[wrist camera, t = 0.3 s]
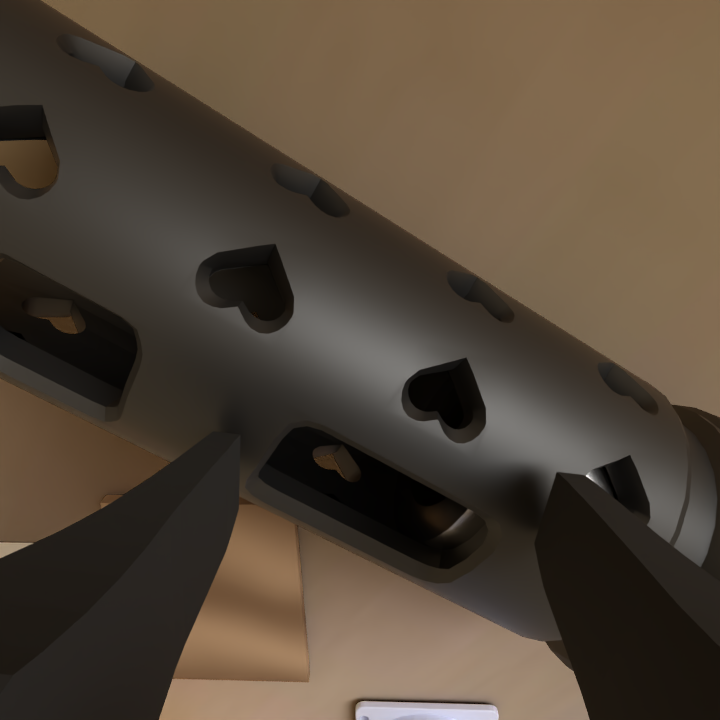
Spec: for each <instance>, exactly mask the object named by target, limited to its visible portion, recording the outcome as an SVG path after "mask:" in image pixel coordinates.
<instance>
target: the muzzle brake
mask: <svg viewBox="0 0 720 720" xmlns="http://www.w3.org/2000/svg"><path fill="white" fill-rule="evenodd" d="M11 140H47V142H48V144H49V147H50V149H51V152H52V154H53V157H54V159H55V161H56V164H57V166H58V169H57V176H56V178H55V180H54V182H53V183H52V184H51V185H49V186H47V187H45V188H41V189H31V188H26V187H24V186H22V185H20V184H18V183H17V182H16V181H15V179H14V178H13V177H12V175H11V174H10V172H9V171H8V170H7V168H6V167H5V166H0V378H1V379H3V380H5V381H7V382H9V383H11V384H13V385H15V386H17V387H19V388H21V389H23V390H25V391H27V392H29V393H31V394H33V395H35V396H37V397H39V398H41V399H43V400H45V401H47V402H49V403H52V404H54V405H56V406H58V407H60V408H62V409H64V410H66V411H68V412H70V413H72V414H74V415H76V416H78V417H80V418H82V419H84V420H86V421H88V422H90V423H92V424H94V425H96V426H98V427H100V428H102V429H104V430H106V431H108V432H110V433H112V434H114V435H116V436H118V437H120V438H122V439H124V440H126V441H128V442H130V443H132V444H134V445H136V446H138V447H140V448H142V449H144V450H146V451H148V452H150V453H153V454H155V455H157V456H159V457H161V458H163V459H165V460H167V461H169V462H172V461H174V460H175V459H176V458H178V457H179V456H181V455H182V454H183V453H185V452H186V451H187V450H188V449H190V448H191V447H192V446H194V445H195V444H196V443H198V442H199V441H201V440H202V439H203V438H205V437H206V436H207V435H209V434H210V433H212V432H213V431H215V432H223V433H232V434H240V482H239V497H241V498H243V499H245V500H247V501H249V502H251V503H254V504H256V505H258V506H260V507H262V508H264V509H266V510H268V511H270V512H272V513H274V514H276V515H278V516H280V517H282V518H284V519H286V520H288V521H290V522H292V523H294V524H296V525H298V526H300V527H302V528H304V529H306V530H308V531H310V532H312V533H314V534H316V535H318V536H320V537H322V538H324V539H326V540H328V541H330V542H332V543H334V544H336V545H338V546H340V547H342V548H344V549H346V550H348V551H350V552H352V553H355V554H357V555H359V556H361V557H363V558H365V559H367V560H369V561H371V562H373V563H375V564H377V565H379V566H381V567H383V568H385V569H387V570H389V571H391V572H393V573H395V574H397V575H399V576H401V577H403V578H405V579H407V580H409V581H411V582H413V583H415V584H417V585H419V586H421V587H423V588H425V589H427V590H429V591H431V592H433V593H435V594H437V595H439V596H441V597H443V598H445V599H447V600H449V601H451V602H453V603H456V604H458V605H460V606H462V607H464V608H466V609H468V610H470V611H472V612H474V613H476V614H478V615H480V616H482V617H484V618H486V619H488V620H490V621H492V622H494V623H496V624H498V625H500V626H502V627H504V628H506V629H508V630H510V631H512V632H514V633H516V634H518V635H520V636H522V637H526V638H530V639H534V640H538V641H545V642H546V643H547V645H548V646H549V648H550V649H551V651H552V652H553V653H554V654H555V655H556V656H557V657H558V658H559V659H560V660H561V661H562V662H563V663H564V664H565V665H566V666H567V667H568V668H570V669H571V670H573V668H572V665H571V662H570V660H569V657H568V654H567V651H566V649H565V646H564V643H563V640H562V638H561V635H560V632H559V630H558V627H557V624H556V621H555V618H554V616H553V613H552V610H551V607H550V604H549V602H548V599H547V596H546V593H545V590H544V587H543V583H542V579H541V574H540V570H539V565H538V560H537V555H536V550H535V545H534V542H535V539H536V536H537V533H538V529H539V526H540V523H541V520H542V517H543V514H544V510H545V507H546V504H547V501H548V498H549V495H550V491H551V488H552V485H553V482H554V479H555V476H556V473H557V472H563V473H572V474H580V475H585V476H586V477H588V478H589V479H591V480H592V481H593V482H595V483H596V484H597V485H599V486H600V487H601V488H602V489H604V490H605V491H606V492H607V493H608V494H610V495H611V496H612V497H613V498H615V499H616V500H617V501H618V502H619V503H621V504H622V505H623V506H624V507H625V508H627V509H628V510H629V511H630V512H631V513H633V514H634V515H635V516H636V517H637V518H639V519H640V520H641V521H642V522H643V523H645V524H646V525H647V526H648V527H649V528H651V529H652V530H653V531H654V532H656V533H657V534H658V535H659V536H661V537H662V538H663V539H664V540H666V541H667V542H668V543H669V544H671V545H672V546H673V547H674V548H676V549H677V550H678V551H680V552H681V553H682V554H683V555H685V556H686V557H687V558H689V559H690V560H691V561H693V562H694V563H695V564H697V565H698V566H699V567H701V568H702V569H703V570H705V571H706V572H707V573H709V574H710V575H711V576H713V577H714V578H716V579H717V580H718V581H720V417H717V416H715V415H712V414H710V413H707V412H704V411H702V410H699V409H697V408H693V407H686V406H678V405H671V404H670V402H669V401H668V399H667V398H666V396H664V395H663V394H662V393H661V392H659V391H658V390H657V389H656V388H654V387H653V386H652V385H650V384H649V383H647V382H646V381H644V380H642V379H641V378H639V377H637V376H636V375H634V374H632V373H631V372H629V371H628V370H626V369H624V368H623V367H621V366H620V365H618V364H616V363H615V362H613V361H612V360H610V359H609V358H607V357H605V356H604V355H602V354H601V353H599V352H597V351H596V350H594V349H593V348H591V347H590V346H588V345H586V344H585V343H583V342H582V341H580V340H578V339H577V338H575V337H574V336H572V335H570V334H569V333H567V332H566V331H564V330H563V329H561V328H559V327H558V326H556V325H555V324H553V323H551V322H550V321H548V320H547V319H545V318H544V317H542V316H540V315H539V314H537V313H536V312H534V311H532V310H531V309H529V308H528V307H526V306H524V305H523V304H521V303H520V302H518V301H517V300H515V299H513V298H512V297H510V296H509V295H507V294H505V293H504V292H502V291H501V290H499V289H498V288H496V287H494V286H493V285H491V284H490V283H488V282H486V281H485V280H483V279H482V278H480V277H479V276H477V275H475V274H474V273H472V272H471V271H469V270H467V269H466V268H464V267H463V266H461V265H459V264H458V263H456V262H455V261H453V260H452V259H450V258H448V257H447V256H445V255H444V254H442V253H440V252H439V251H437V250H436V249H434V248H433V247H431V246H429V245H428V244H426V243H425V242H423V241H421V240H420V239H418V238H417V237H415V236H413V235H412V234H410V233H409V232H407V231H406V230H404V229H402V228H401V227H399V226H398V225H396V224H394V223H393V222H391V221H390V220H388V219H387V218H385V217H383V216H382V215H380V214H379V213H377V212H375V211H374V210H372V209H371V208H369V207H367V206H366V205H364V204H363V203H361V202H360V201H358V200H356V199H355V198H353V197H352V196H350V195H348V194H347V193H345V192H344V191H342V190H341V189H339V188H337V187H336V186H334V185H333V184H331V183H329V182H328V181H326V180H325V179H323V178H321V177H320V176H318V175H317V174H315V173H314V172H312V171H310V170H309V169H307V168H306V167H304V166H302V165H301V164H299V163H298V162H296V161H295V160H293V159H291V158H290V157H288V156H287V155H285V154H283V153H282V152H280V151H279V150H277V149H276V148H274V147H272V146H271V145H269V144H268V143H266V142H264V141H263V140H261V139H260V138H258V137H256V136H255V135H253V134H252V133H250V132H249V131H247V130H245V129H244V128H242V127H241V126H239V125H237V124H236V123H234V122H233V121H231V120H230V119H228V118H226V117H225V116H223V115H222V114H220V113H218V112H217V111H215V110H214V109H212V108H210V107H209V106H207V105H206V104H204V103H203V102H201V101H199V100H198V99H196V98H195V97H193V96H191V95H190V94H188V93H187V92H185V91H184V90H182V89H180V88H179V87H177V86H176V85H174V84H172V83H171V82H169V81H168V80H166V79H164V78H163V77H161V76H160V75H158V74H157V73H155V72H153V71H152V70H150V69H149V68H147V67H145V66H144V65H142V64H141V63H139V62H138V61H136V60H134V59H133V58H131V57H130V56H128V55H126V54H125V53H123V52H122V51H120V50H118V49H117V48H115V47H114V46H112V45H111V44H109V43H107V42H106V41H104V40H103V39H101V38H99V37H98V36H96V35H95V34H93V33H92V32H90V31H88V30H87V29H85V28H84V27H82V26H80V25H79V24H77V23H76V22H74V21H73V20H71V19H69V18H68V17H66V16H65V15H63V14H61V13H60V12H58V11H57V10H55V9H53V8H52V7H50V6H49V5H47V4H46V3H44V2H42V1H41V0H0V141H11ZM254 312H257V314H258V317H259V319H258V318H256V317H254V316H253V315H252V314H251V313H254ZM68 316H72V318H73V321H74V323H75V326H76V328H77V330H78V333H77V334H68V333H64V332H61V331H59V330H58V329H56V328H55V327H54V326H53V325H52V323H51V322H50V321H49V320H47V319H41V318H36V317H68ZM332 453H333V456H334V458H335V460H336V462H337V464H338V466H339V468H340V469H341V471H342V473H343V475H344V477H345V479H346V480H345V479H344V478H343V477H341V475H340V474H339V473H338V472H337V471H336V470H328V469H324V468H322V467H320V466H319V465H318V464H317V463H316V462H315V460H314V459H313V458H316V457H320V456H325V455H328V454H332Z"/></svg>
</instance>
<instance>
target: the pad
mask: <svg viewBox="0 0 720 720" xmlns="http://www.w3.org/2000/svg"><path fill="white" fill-rule="evenodd" d="M121 496H123V495H106V496H105V497H104V498H103V500H102V501H101V502H100V505H101V509H102V508H103V507H105V506H107V505H108V504H110V503H112V502H113V501H115V500H116V499H118V498H120V497H121ZM309 675H310V666H309V655H308V643H307V632H306V620H305V609H304V597H303V586H302V574H301V563H300V551H299V540H298V528H297V525H296V524H294V523H292V522H290V521H288V520H286V519H284V518H282V517H280V516H278V515H276V514H274V513H272V512H270V511H268V510H266V509H264V508H262V507H260V506H258V505H256V504H254V503H251V502H249V501H247V500H245V499H243V498H241V497H239V510H238V514H237V517H236V521H235V524H234V527H233V531H232V534H231V537H230V541H229V544H228V547H227V550H226V553H225V555H224V557H223V560H222V562H221V564H220V566H219V569H218V571H217V573H216V576H215V578H214V580H213V583H212V585H211V587H210V589H209V592H208V594H207V596H206V598H205V601H204V603H203V605H202V607H201V610H200V612H199V614H198V616H197V619H196V621H195V623H194V626H193V628H192V630H191V632H190V635H189V637H188V639H187V641H186V644H185V646H184V649H183V651H182V654H181V656H180V659H179V661H178V664H177V666H176V669H175V672H174V675H173V678H172V679H206V680H244V681H282V682H309Z"/></svg>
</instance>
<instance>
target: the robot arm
mask: <svg viewBox="0 0 720 720" xmlns="http://www.w3.org/2000/svg"><path fill="white" fill-rule="evenodd" d="M239 482H240V434H232V433H223V432H215V431H213V432H212V433H210V434H209V435H207V436H206V437H205V438H203V439H202V440H201V441H199V442H198V443H196V444H195V445H194V446H192V447H191V448H190V449H188V450H187V451H186V452H185V453H183V454H182V455H181V456H179V457H178V458H176V459H175V460H174V461H172V462H171V463H170V464H168V465H167V466H166V467H164V468H163V469H161V470H160V471H159V472H157V473H156V474H154V475H153V476H152V477H150V478H149V479H147V480H146V481H144V482H143V483H141V484H140V485H138V486H137V487H135V488H133V489H132V490H130V491H129V492H127V493H126V494H124V495H123V496H121V497H120V498H118V499H116V500H115V501H113V502H112V503H110V504H108V505H107V506H105V507H103V508H102V509H100V510H98V511H96V512H95V513H93V514H91V515H89V516H87V517H86V518H84V519H82V520H80V521H78V522H76V523H74V524H72V525H70V526H69V527H67V528H65V529H63V530H61V531H59V532H57V533H55V534H53V535H51V536H48V537H46V538H44V539H42V540H39V541H37V542H35V543H33V544H31V545H28V546H26V547H24V548H22V549H20V550H17V551H15V552H13V553H11V554H8V555H6V556H4V557H2V558H0V720H159V717H160V714H161V711H162V708H163V705H164V702H165V699H166V696H167V693H168V690H169V687H170V684H171V681H172V678H173V675H174V672H175V669H176V666H177V664H178V661H179V659H180V656H181V654H182V651H183V649H184V646H185V644H186V641H187V639H188V637H189V635H190V632H191V630H192V628H193V626H194V623H195V621H196V619H197V616H198V614H199V612H200V610H201V607H202V605H203V603H204V601H205V598H206V596H207V594H208V592H209V589H210V587H211V585H212V583H213V580H214V578H215V576H216V573H217V571H218V569H219V566H220V564H221V562H222V560H223V557H224V555H225V553H226V550H227V547H228V544H229V541H230V537H231V534H232V531H233V527H234V524H235V521H236V517H237V514H238V510H239ZM534 545H535V550H536V555H537V560H538V565H539V570H540V574H541V579H542V583H543V587H544V590H545V593H546V596H547V599H548V602H549V604H550V607H551V610H552V613H553V616H554V618H555V621H556V624H557V627H558V630H559V632H560V635H561V638H562V640H563V643H564V646H565V649H566V651H567V654H568V657H569V660H570V662H571V665H572V668H573V671H574V673H575V676H576V679H577V682H578V684H579V687H580V690H581V693H582V696H583V699H584V702H585V705H586V709H587V712H588V715H589V719H590V720H720V581H718V580H717V579H716V578H714V577H713V576H711V575H710V574H709V573H707V572H706V571H705V570H703V569H702V568H701V567H699V566H698V565H697V564H695V563H694V562H693V561H691V560H690V559H689V558H687V557H686V556H685V555H683V554H682V553H681V552H680V551H678V550H677V549H676V548H674V547H673V546H672V545H671V544H669V543H668V542H667V541H666V540H664V539H663V538H662V537H661V536H659V535H658V534H657V533H656V532H654V531H653V530H652V529H651V528H649V527H648V526H647V525H646V524H645V523H643V522H642V521H641V520H640V519H639V518H637V517H636V516H635V515H634V514H633V513H631V512H630V511H629V510H628V509H627V508H625V507H624V506H623V505H622V504H621V503H619V502H618V501H617V500H616V499H615V498H613V497H612V496H611V495H610V494H608V493H607V492H606V491H605V490H604V489H602V488H601V487H600V486H599V485H597V484H596V483H595V482H593V481H592V480H591V479H589V478H588V477H586V476H585V475H580V474H572V473H563V472H557V473H556V476H555V479H554V482H553V485H552V488H551V491H550V495H549V498H548V501H547V504H546V507H545V510H544V514H543V517H542V520H541V523H540V526H539V529H538V533H537V536H536V539H535V542H534ZM355 717H356V720H498V717H499V716H498V711H497V708H496V707H495V706H493V705H487V704H452V703H416V702H380V701H361V702H359V703H357V704H356V709H355Z"/></svg>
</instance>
